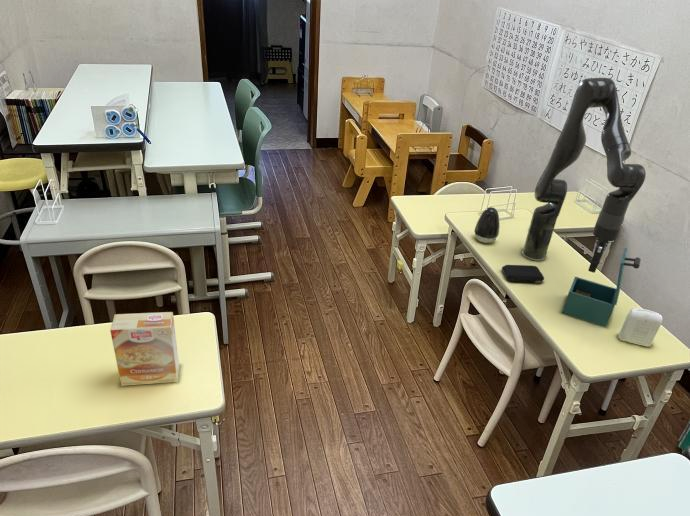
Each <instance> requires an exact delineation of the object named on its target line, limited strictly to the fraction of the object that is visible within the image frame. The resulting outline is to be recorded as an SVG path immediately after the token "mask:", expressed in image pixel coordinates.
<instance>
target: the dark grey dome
mask: <svg viewBox="0 0 690 516" xmlns="http://www.w3.org/2000/svg"><path fill="white" fill-rule="evenodd" d="M500 223H501V222H500V215H499V212H498V210H497V209H496V208H495V207H491V206H489V207H486V208H485V209H484V210H483V211H482V213H481V214H480V216H479V218H478V220H477V221H476V224H475V226H474V230H473V232H474V236H475V238H476V240H477V241H479V242H481V243H484V244H491V243H493V242H495V240H497V238H498V237H499V235H500V226H501V225H500Z"/></svg>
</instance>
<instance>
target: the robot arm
mask: <svg viewBox="0 0 690 516" xmlns="http://www.w3.org/2000/svg"><path fill="white" fill-rule="evenodd" d="M591 108H593V109H594V108H602V110H603V112H604V115H605V120H604V124H603V127H602V130H601V135H600V140H601V141H600V142H601V145H602V148H603V151H604V153H605V156H606V177H607V181H608V183H609V184H610V185H611V186H612V187H614V188H617V189H614V190H611V191H610V192H608V193H607V194H606V197H605V198H604V202H603V205H602V208H601V210H600V212H599V214H598V216H597V219H596V222H595V225H594V228H593V230H592V235H593V236H594V237H595V238H596V239H595V242H594V247H593V250H592V258H591V259H590V264H589V266H588V272H590V273H594V274H595V273H596V270H597V269H598V266H599V264H600V263H601V259H602V258H603V257H604V255H605V253H606V250H607V249H608V246H609V243H610V242H614V241H616V240H617V239H618V237H619V234H620V231H621V229H622V226H623V223H624V220H625V217H626V213H627V211H628V208H629V206H630V203H631V201H632V200H633V199H634V198H635V196H636V195H637V193H639V191H640V189H641V188H642V186H643V185H644V183H645V180H646V175H647V174H646V168H645V167H644V166H643V165H642V164H641V163H640V164H639V163H624V162H625V161H627V160H628V159H629V158H630V157H631V156H632V149H631V146H630V143H629V140H628V138H627V135H626V132H625V129H624V125H623V120H622V114H621V107H620V101H619V95H618V90H617V86H616V83H615V81H614V80H613V79H612V78H610V77H588V78H583V79H582V80H581V81H580V82H579V83H578V86H577V87H576V90H575V92H574V95H573V98H572V102H571V104H570V107H569V111H568V114H567V117H566V119H565V122H564V124H563V126H562V129H561V132H560V134H559V136H558V138H557V140H556V142H555V145H554V148H553V150H552V153H551V156H550V157H549V160H548V163H547V164H546V165H545V168H544V170H543V172H542V173H541V176H540V177H539V179H538V181H537V183H536V184H535V185H536V186H535V188H534V199H535V200H536V201H537V202H539V203H544V204H542V205H540V206H537V207H536V208H534V210H533V213H532V216H531V220H530V223H529V227H528V231H527V233H526V234H527V235H526V238H525V241H524V245H523V249H522V251H521V254H522V256H523V257H524V258H526V259H528V260H531V261H535V262H537V261H538V262H539V261H540V262H541V261H544V260H545V259H546V257H547V254H548V250H549V246H550V244H551V240H552V236H553V234H554V230H555V227H556V223H557V220H558V217H559V216H560V214H561V211H562V208H563V205H564V202H565V200H566V196H567V193H568V183H567V181H566V180H565V179H561V178H560V179H559V178H556V177H558V175H559V174H561V172H564V170H567V168H568V167H570V166H572V165H573V164H574V163H575V162H576V161H578V159H579V158H580V156H581V154H582V153H583V150H584V148H585V146H586V142H587V135H586V130H585V126H584V118H585V115H586V113H587V111H588V109H591Z"/></svg>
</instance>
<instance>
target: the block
mask: <svg viewBox="0 0 690 516" xmlns="http://www.w3.org/2000/svg"><path fill="white" fill-rule="evenodd" d="M575 293H578V294H581V295H584V296H588V297H590V295H591V294H589V293H586V292H583V291H579V290H576V292H575Z"/></svg>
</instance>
